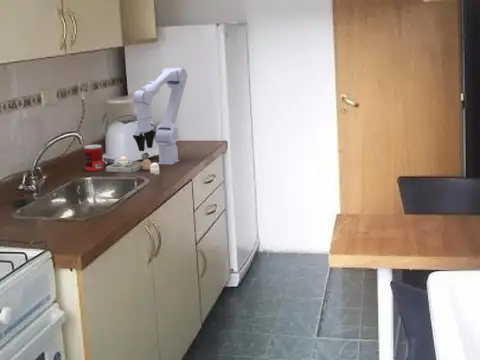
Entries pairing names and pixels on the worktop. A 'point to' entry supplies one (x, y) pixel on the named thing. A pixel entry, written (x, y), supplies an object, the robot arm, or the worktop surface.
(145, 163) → the brown egg
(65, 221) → the worktop surface
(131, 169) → the egg tray
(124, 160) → the cream egg seated
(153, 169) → the cream egg loose
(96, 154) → the canned food
